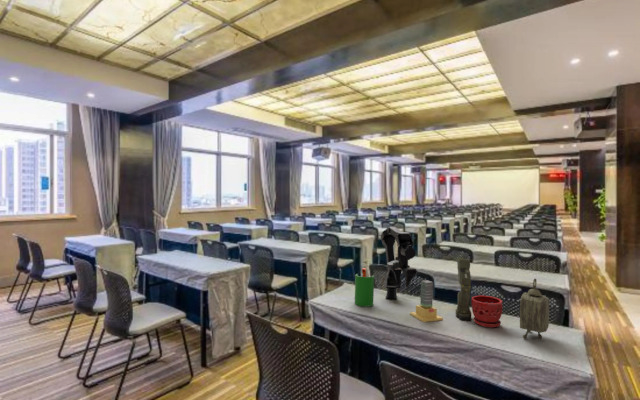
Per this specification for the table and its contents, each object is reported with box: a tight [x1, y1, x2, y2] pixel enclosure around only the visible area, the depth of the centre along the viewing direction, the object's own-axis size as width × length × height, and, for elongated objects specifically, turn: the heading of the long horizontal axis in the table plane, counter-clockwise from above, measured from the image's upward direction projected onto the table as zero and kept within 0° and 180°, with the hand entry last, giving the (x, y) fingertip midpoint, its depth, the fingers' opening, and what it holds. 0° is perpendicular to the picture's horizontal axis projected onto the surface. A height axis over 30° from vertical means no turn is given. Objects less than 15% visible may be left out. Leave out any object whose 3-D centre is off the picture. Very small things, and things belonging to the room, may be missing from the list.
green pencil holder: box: [354, 267, 375, 307], centre depth 186 cm, size 10×9×20 cm
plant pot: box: [470, 295, 503, 329], centre depth 160 cm, size 13×13×12 cm
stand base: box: [409, 304, 443, 323], centre depth 168 cm, size 11×11×5 cm
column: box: [419, 279, 434, 307], centre depth 168 cm, size 4×4×12 cm
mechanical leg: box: [455, 257, 472, 322], centre depth 171 cm, size 14×7×30 cm, turn 169°
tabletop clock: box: [519, 278, 550, 340], centre depth 146 cm, size 14×9×25 cm, turn 141°
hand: (402, 284), depth 183 cm, fingers open, 9 cm apart
